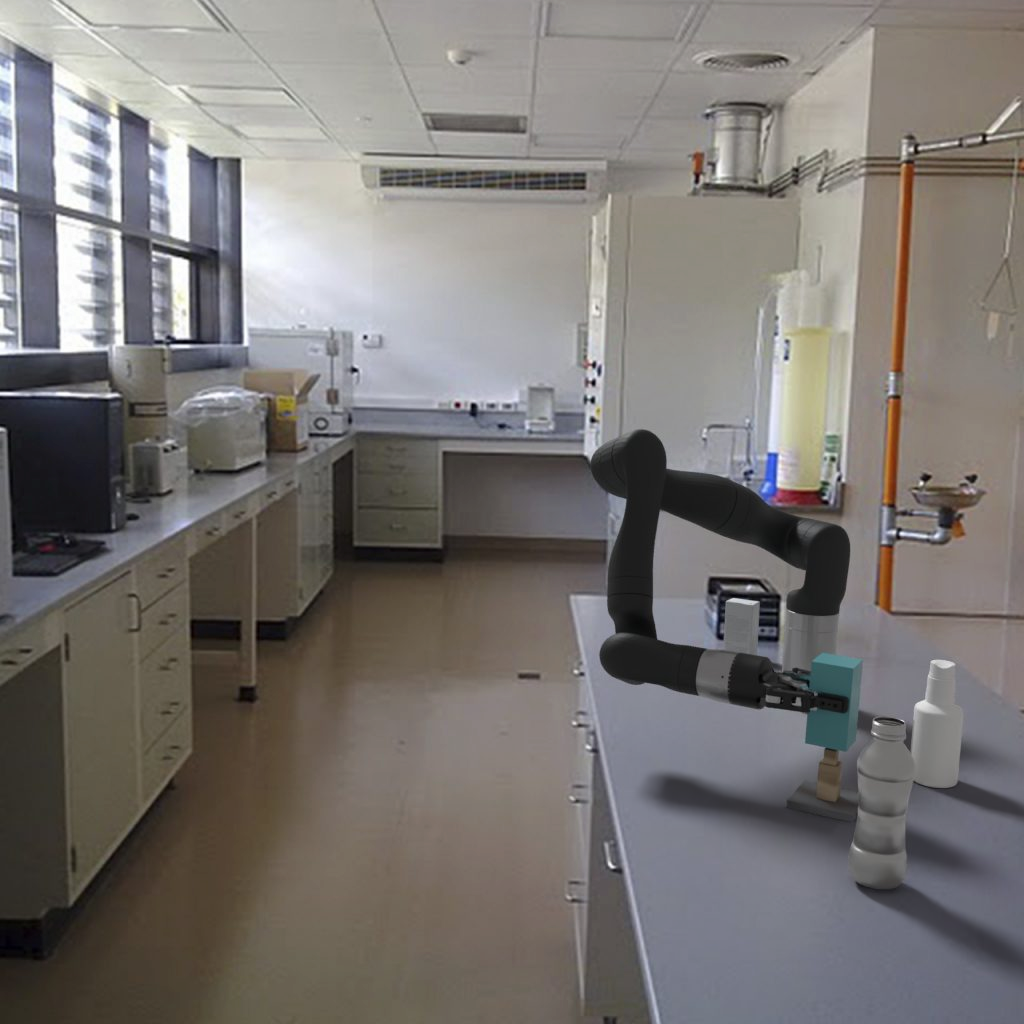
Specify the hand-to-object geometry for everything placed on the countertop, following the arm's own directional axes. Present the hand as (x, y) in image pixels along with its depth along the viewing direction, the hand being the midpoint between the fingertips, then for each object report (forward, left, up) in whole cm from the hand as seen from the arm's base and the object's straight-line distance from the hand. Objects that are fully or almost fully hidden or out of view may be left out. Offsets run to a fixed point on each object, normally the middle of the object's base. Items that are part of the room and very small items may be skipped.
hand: (852, 699), depth 153 cm
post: (0, -2, -15) cm, 16 cm away
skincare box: (-67, -37, -16) cm, 78 cm away
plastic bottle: (+21, +9, -16) cm, 28 cm away
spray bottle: (-18, +9, -16) cm, 25 cm away
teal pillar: (0, -3, -6) cm, 7 cm away
